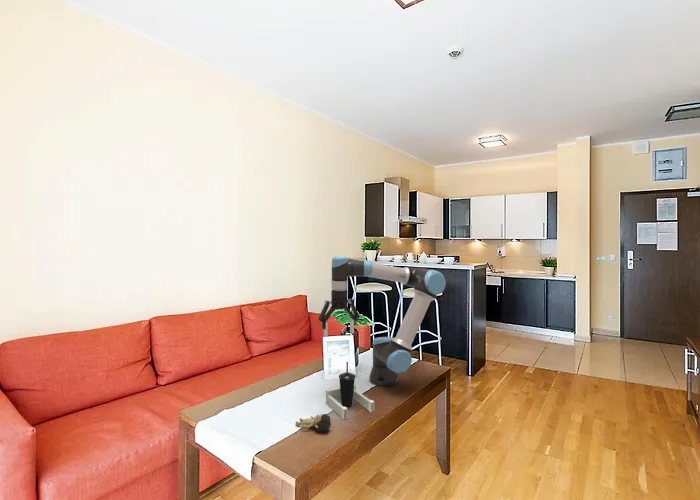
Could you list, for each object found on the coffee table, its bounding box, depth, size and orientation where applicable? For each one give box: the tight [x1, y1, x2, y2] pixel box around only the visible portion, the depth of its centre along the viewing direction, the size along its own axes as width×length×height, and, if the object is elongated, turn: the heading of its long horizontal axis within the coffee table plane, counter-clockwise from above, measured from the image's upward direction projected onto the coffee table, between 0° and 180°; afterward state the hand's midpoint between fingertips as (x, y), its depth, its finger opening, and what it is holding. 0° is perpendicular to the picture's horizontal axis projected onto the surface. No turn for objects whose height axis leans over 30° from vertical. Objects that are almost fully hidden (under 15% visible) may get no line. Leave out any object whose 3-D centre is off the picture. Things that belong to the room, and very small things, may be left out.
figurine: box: [295, 413, 332, 433], centre depth 152 cm, size 8×6×15 cm
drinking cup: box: [338, 361, 357, 409], centre depth 171 cm, size 8×8×20 cm
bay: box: [325, 383, 375, 421], centre depth 170 cm, size 15×18×6 cm
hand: (338, 334), depth 177 cm, fingers open, 13 cm apart
